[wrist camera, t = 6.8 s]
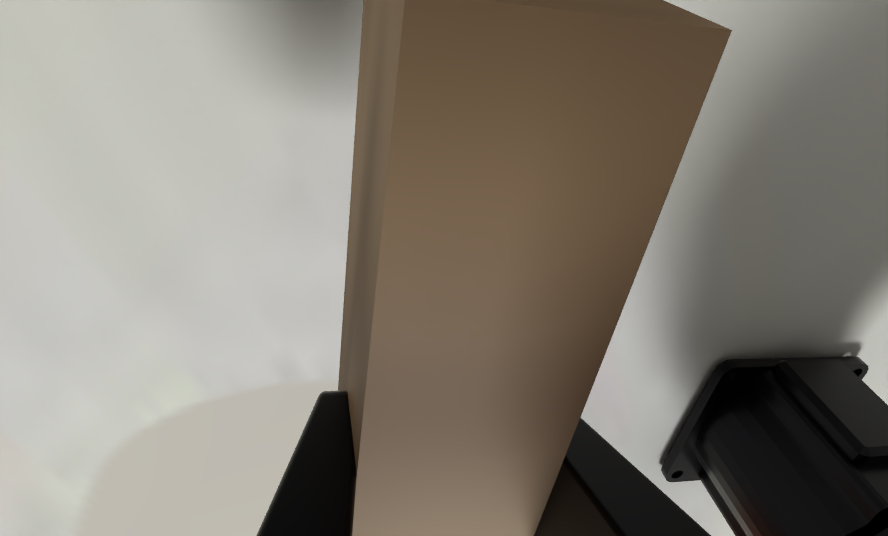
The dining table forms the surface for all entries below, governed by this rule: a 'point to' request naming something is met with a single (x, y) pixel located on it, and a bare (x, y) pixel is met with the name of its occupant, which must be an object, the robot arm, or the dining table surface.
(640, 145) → the brown wooden slab
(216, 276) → the dining table surface
